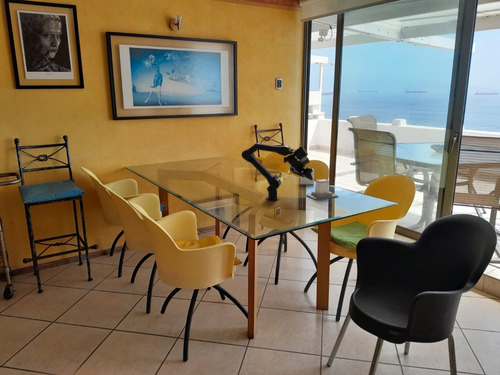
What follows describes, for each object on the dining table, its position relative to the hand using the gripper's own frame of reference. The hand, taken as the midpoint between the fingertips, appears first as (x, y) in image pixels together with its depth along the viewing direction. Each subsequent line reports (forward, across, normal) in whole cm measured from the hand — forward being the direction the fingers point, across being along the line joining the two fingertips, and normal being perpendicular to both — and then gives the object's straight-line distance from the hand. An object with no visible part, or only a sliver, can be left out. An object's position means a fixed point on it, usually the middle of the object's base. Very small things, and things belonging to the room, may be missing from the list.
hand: (308, 178), depth 240 cm
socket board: (+18, 0, +1) cm, 18 cm away
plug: (+17, 0, +1) cm, 17 cm away
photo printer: (+26, +32, -6) cm, 42 cm away
